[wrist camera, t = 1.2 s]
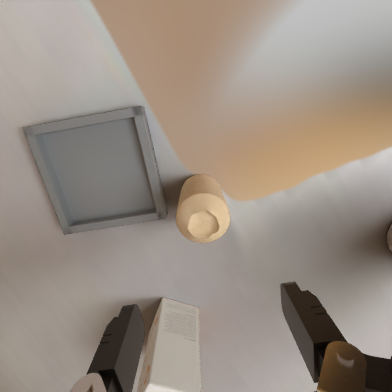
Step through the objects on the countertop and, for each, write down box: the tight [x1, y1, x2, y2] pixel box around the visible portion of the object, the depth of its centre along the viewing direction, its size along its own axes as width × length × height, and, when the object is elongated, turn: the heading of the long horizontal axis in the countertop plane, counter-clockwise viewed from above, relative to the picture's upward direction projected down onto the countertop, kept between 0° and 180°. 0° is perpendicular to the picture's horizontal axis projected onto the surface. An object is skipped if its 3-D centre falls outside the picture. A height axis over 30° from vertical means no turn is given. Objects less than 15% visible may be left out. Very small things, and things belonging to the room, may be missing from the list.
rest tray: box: [23, 106, 168, 235], centre depth 30 cm, size 14×14×2 cm
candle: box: [176, 174, 230, 243], centre depth 27 cm, size 6×6×10 cm
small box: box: [137, 298, 201, 392], centre depth 33 cm, size 8×6×13 cm
